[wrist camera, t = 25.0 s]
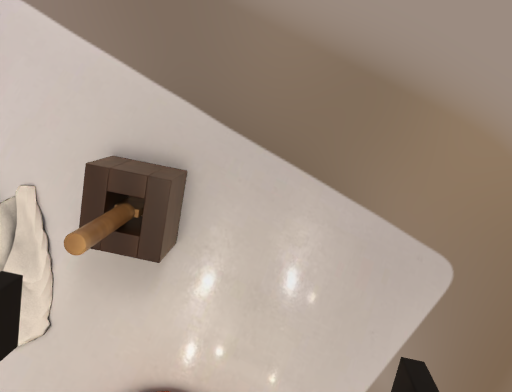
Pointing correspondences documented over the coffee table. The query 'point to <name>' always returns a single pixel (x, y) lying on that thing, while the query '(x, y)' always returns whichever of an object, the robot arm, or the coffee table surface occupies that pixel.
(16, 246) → the cloth
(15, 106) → the coffee table surface
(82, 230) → the stick
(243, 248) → the coffee table surface
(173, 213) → the holder
